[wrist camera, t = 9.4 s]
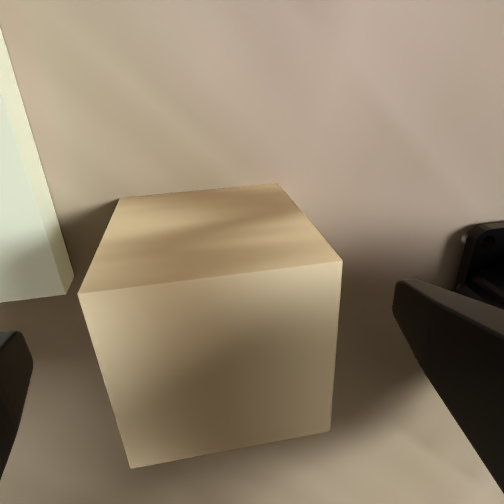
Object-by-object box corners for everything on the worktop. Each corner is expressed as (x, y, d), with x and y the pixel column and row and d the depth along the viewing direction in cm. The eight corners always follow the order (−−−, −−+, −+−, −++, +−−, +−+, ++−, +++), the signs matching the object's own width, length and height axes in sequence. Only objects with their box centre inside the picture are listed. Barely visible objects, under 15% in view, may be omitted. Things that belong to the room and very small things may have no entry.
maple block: (277, 182, 11) (342, 260, 7) (279, 307, 13) (330, 431, 9) (120, 197, 10) (77, 294, 6) (147, 326, 12) (130, 469, 8)
